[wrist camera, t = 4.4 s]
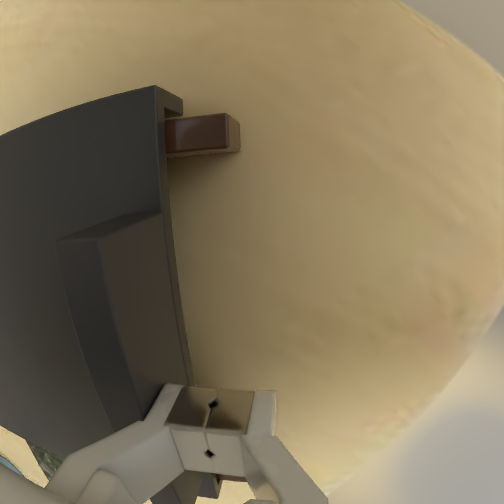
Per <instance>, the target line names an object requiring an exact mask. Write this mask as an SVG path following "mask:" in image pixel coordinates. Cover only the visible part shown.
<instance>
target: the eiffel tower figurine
mask: <svg viewBox="0 0 504 504" xmlns="http://www.w3.org/2000/svg"><path fill="white" fill-rule="evenodd" d="M25 440H26V439H25ZM26 442H27V443H28V445H29V447H30V449H31V451H32V453H33V454H34V456H35V458H36V460H37V462H38V464H39V465H40V467H41V469H42V470H43V472H44V474H45V475H46V477H47V478H48V480H49V481H50V479H51V478H52V477H53V475H54V474H55V472H56V471H57V470H58V468H59V467H60V465H61V464H62V463H63V461H64V460H65V458H64V457H62V456H59V455H57V454H55V453H53V452H50V451H48V450H46V449H44V448H42V447H40V446H38V445H36V444H34V443H32V442H30V441H28V440H26Z"/></svg>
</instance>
